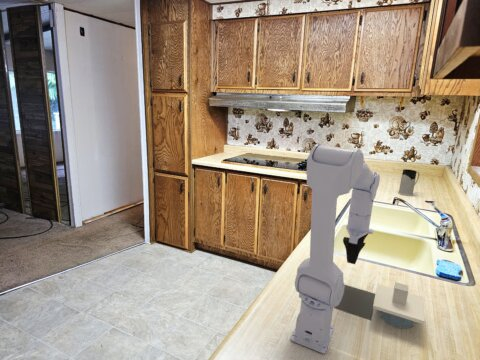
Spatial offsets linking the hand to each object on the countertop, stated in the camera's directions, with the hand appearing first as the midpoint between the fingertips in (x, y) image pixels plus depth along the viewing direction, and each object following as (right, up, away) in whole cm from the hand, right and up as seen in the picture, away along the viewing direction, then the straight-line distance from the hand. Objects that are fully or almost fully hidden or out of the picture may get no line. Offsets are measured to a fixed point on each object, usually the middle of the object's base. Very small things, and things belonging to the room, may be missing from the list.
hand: (353, 257), depth 91 cm
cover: (+7, -9, -11) cm, 16 cm away
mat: (-2, -11, -3) cm, 12 cm away
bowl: (+7, -13, -10) cm, 18 cm away
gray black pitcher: (+73, +13, +108) cm, 131 cm away
